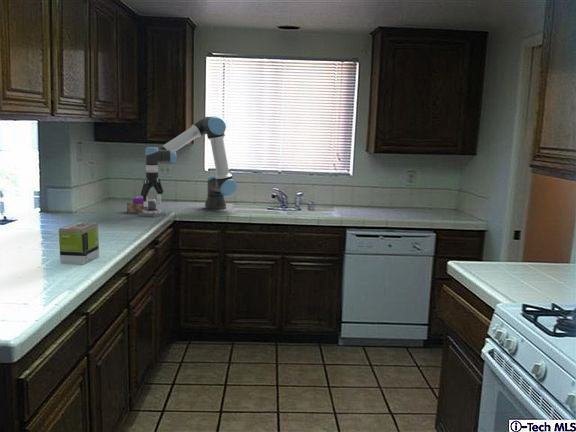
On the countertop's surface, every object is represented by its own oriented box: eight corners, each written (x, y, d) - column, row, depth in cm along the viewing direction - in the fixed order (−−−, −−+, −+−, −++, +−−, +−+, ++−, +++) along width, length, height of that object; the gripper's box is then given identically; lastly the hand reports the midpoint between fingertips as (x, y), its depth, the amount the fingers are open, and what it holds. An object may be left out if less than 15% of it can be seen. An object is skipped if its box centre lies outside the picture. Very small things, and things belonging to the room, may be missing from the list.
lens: (151, 211, 348) (151, 198, 347) (157, 211, 346) (157, 199, 345) (146, 212, 344) (146, 199, 343) (152, 212, 342) (152, 200, 341)
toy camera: (155, 210, 365) (155, 195, 364) (147, 213, 352) (146, 198, 350) (140, 209, 367) (140, 195, 365) (131, 212, 353) (131, 197, 352)
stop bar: (145, 213, 351) (145, 204, 350) (143, 213, 349) (143, 204, 348) (129, 211, 356) (129, 202, 355) (127, 212, 354) (127, 203, 353)
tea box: (77, 255, 232) (76, 221, 230) (99, 257, 231) (99, 222, 229) (59, 264, 217) (58, 227, 215) (83, 265, 216) (82, 228, 214)
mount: (165, 214, 349) (165, 209, 348) (154, 217, 338) (154, 211, 337) (150, 213, 353) (150, 207, 353) (138, 215, 342) (138, 210, 342)
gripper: (159, 170, 354) (159, 202, 357) (134, 172, 331) (134, 207, 335) (168, 171, 351) (168, 203, 355) (144, 173, 328) (144, 208, 332)
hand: (152, 205), depth 345 cm, fingers open, 13 cm apart
